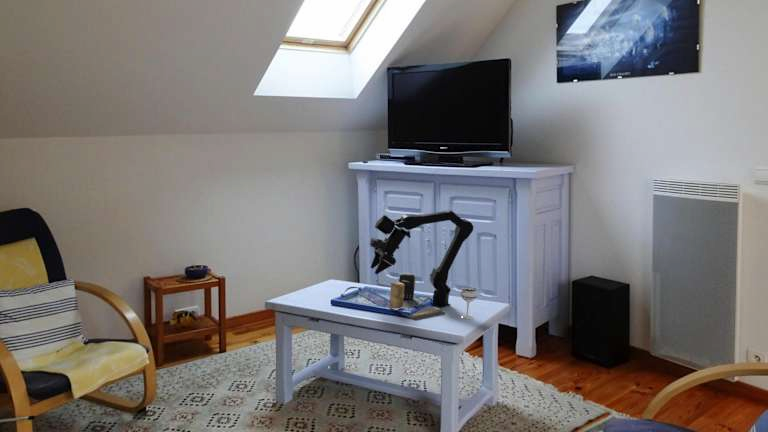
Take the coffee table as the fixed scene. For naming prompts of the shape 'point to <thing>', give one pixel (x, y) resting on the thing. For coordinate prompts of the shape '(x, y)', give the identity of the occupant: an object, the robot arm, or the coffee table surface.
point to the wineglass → (468, 298)
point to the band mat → (425, 313)
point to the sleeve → (397, 295)
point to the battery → (408, 285)
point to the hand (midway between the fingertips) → (373, 270)
